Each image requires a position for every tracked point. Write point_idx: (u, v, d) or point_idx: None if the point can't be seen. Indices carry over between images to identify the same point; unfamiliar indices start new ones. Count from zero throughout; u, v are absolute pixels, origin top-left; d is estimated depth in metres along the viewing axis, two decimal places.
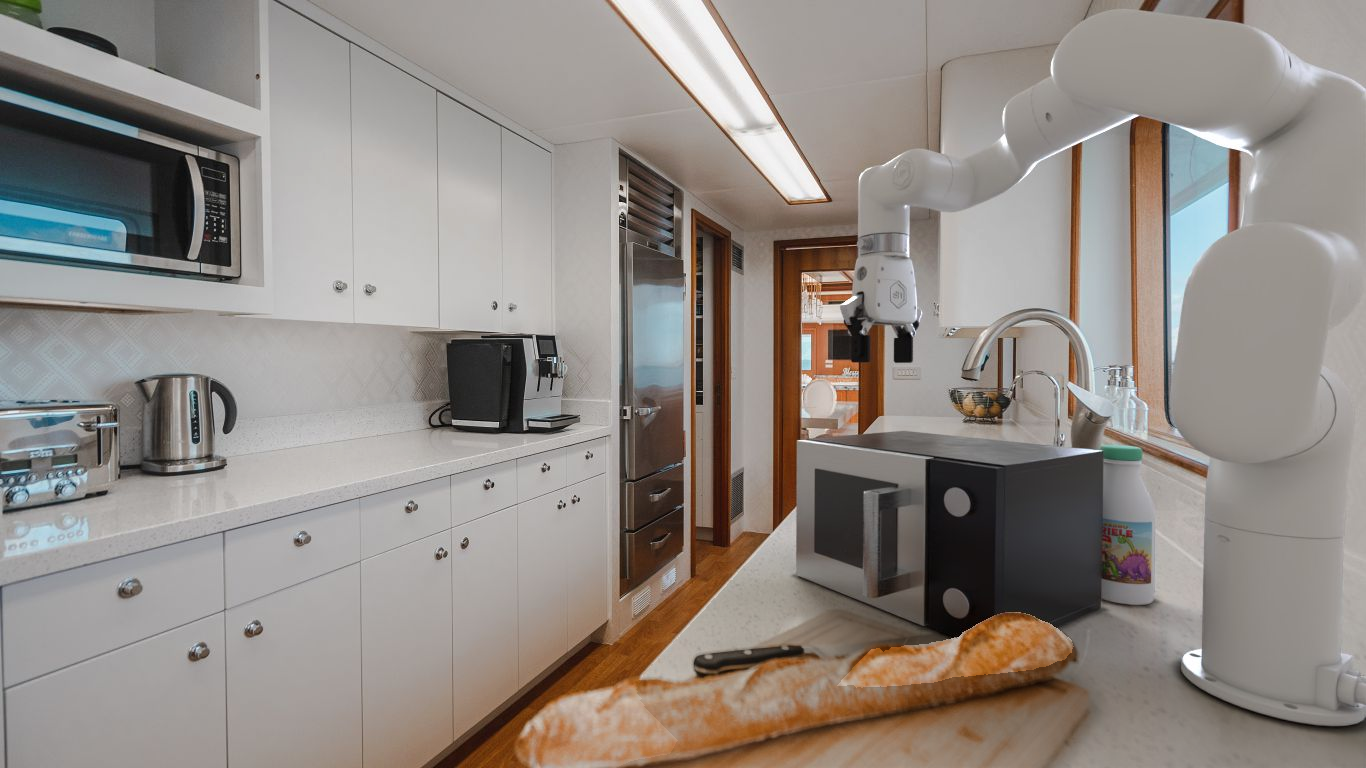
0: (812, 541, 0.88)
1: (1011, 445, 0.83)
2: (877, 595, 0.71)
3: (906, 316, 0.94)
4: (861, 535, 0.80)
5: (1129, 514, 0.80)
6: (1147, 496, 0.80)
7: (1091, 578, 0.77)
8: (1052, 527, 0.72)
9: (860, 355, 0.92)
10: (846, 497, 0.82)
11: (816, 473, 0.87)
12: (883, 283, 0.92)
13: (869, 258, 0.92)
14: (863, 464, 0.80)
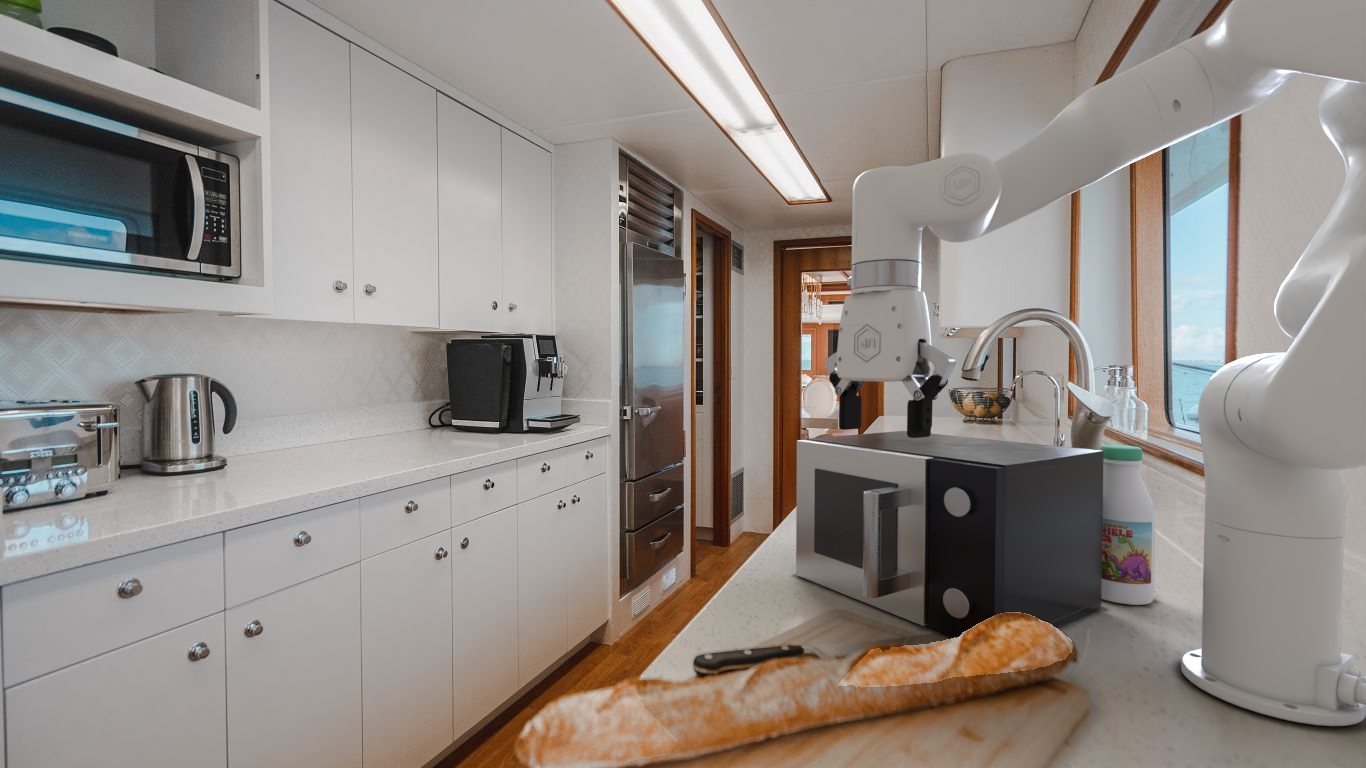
0: (812, 541, 0.88)
1: (1011, 445, 0.83)
2: (877, 595, 0.71)
3: (880, 371, 0.68)
4: (861, 535, 0.80)
5: (1129, 514, 0.80)
6: (1147, 496, 0.80)
7: (1091, 578, 0.77)
8: (1052, 527, 0.72)
9: None
10: (846, 497, 0.82)
11: (816, 473, 0.87)
12: (846, 331, 0.72)
13: None
14: (863, 464, 0.80)
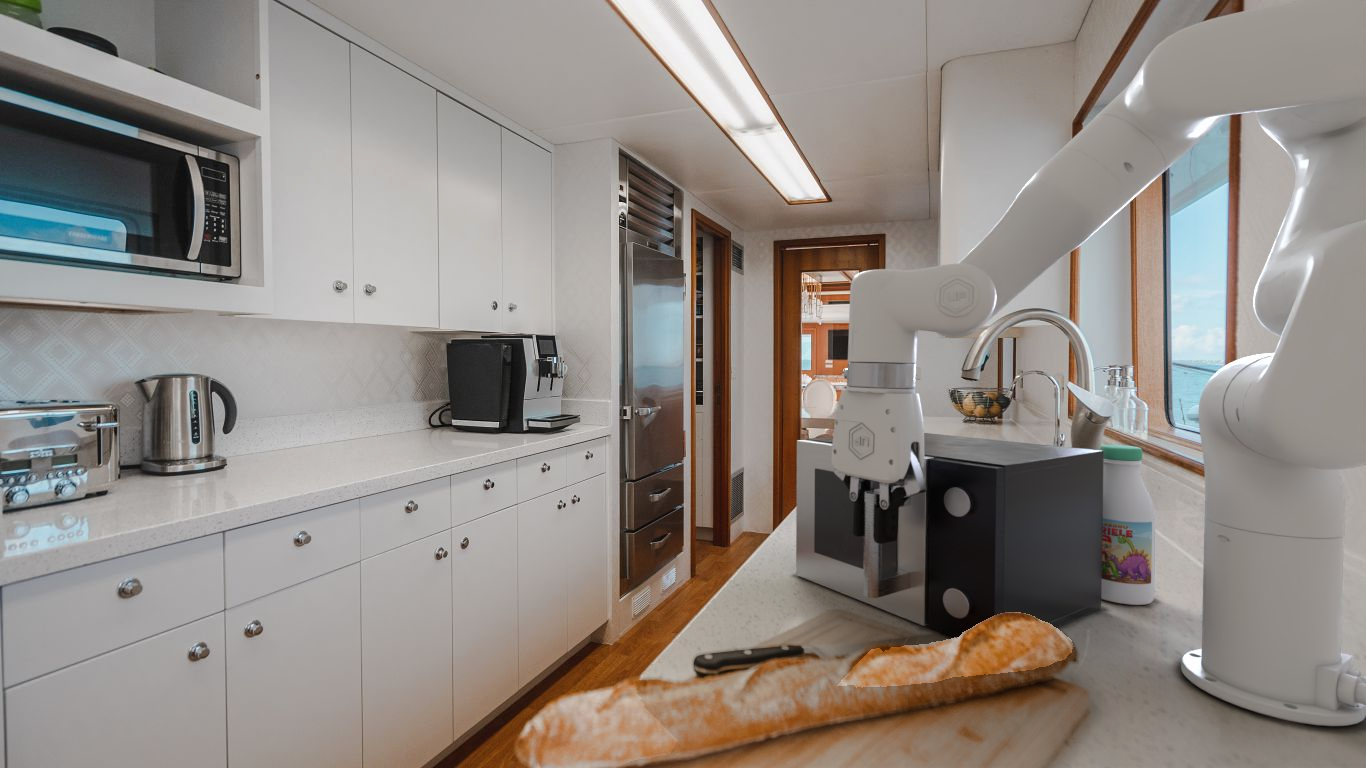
0: (812, 541, 0.88)
1: (1011, 445, 0.83)
2: (878, 595, 0.71)
3: (874, 471, 0.69)
4: None
5: (1129, 514, 0.80)
6: (1147, 496, 0.80)
7: (1091, 578, 0.77)
8: (1052, 527, 0.72)
9: None
10: (846, 497, 0.82)
11: (816, 473, 0.87)
12: (842, 425, 0.73)
13: None
14: None
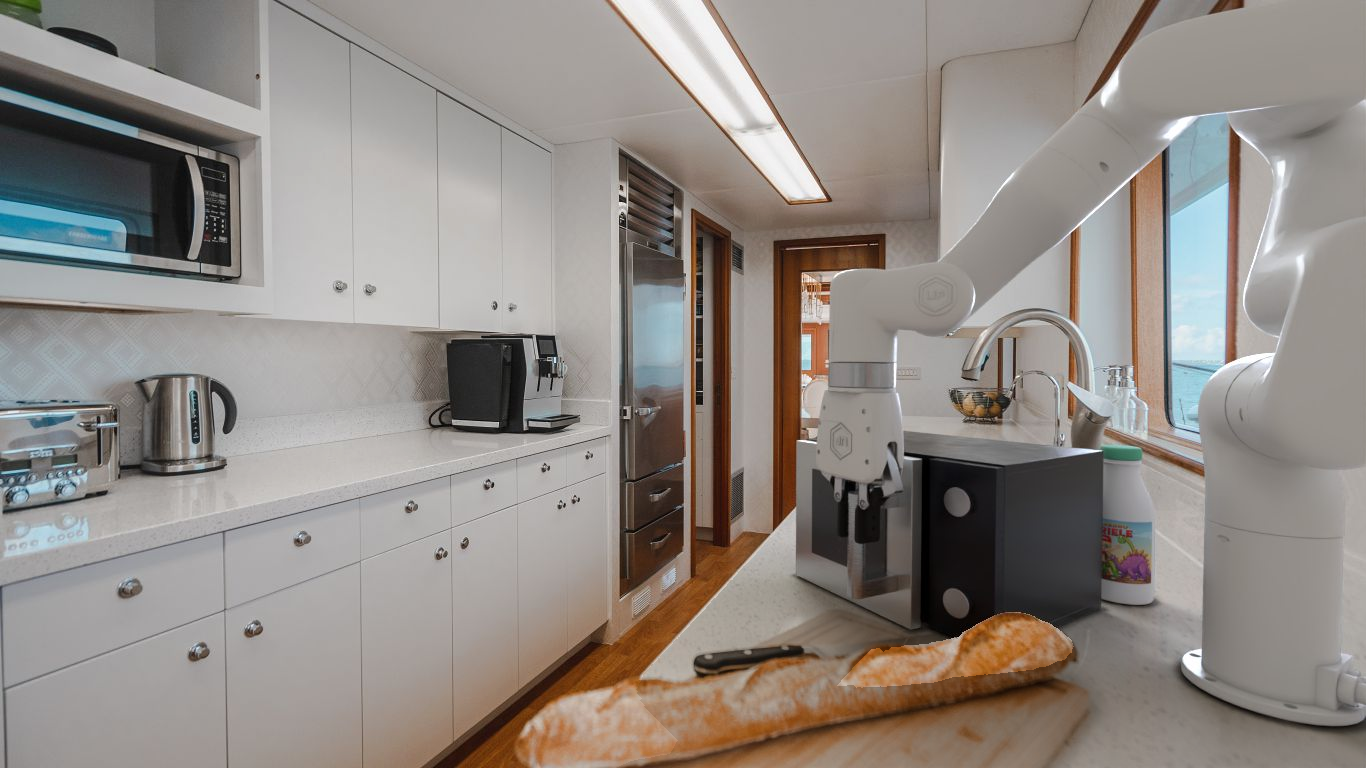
0: (810, 541, 0.88)
1: (1011, 445, 0.83)
2: (861, 596, 0.71)
3: (852, 471, 0.69)
4: None
5: (1129, 514, 0.80)
6: (1147, 496, 0.80)
7: (1091, 578, 0.77)
8: (1052, 527, 0.72)
9: None
10: None
11: (813, 473, 0.87)
12: (824, 425, 0.73)
13: None
14: None
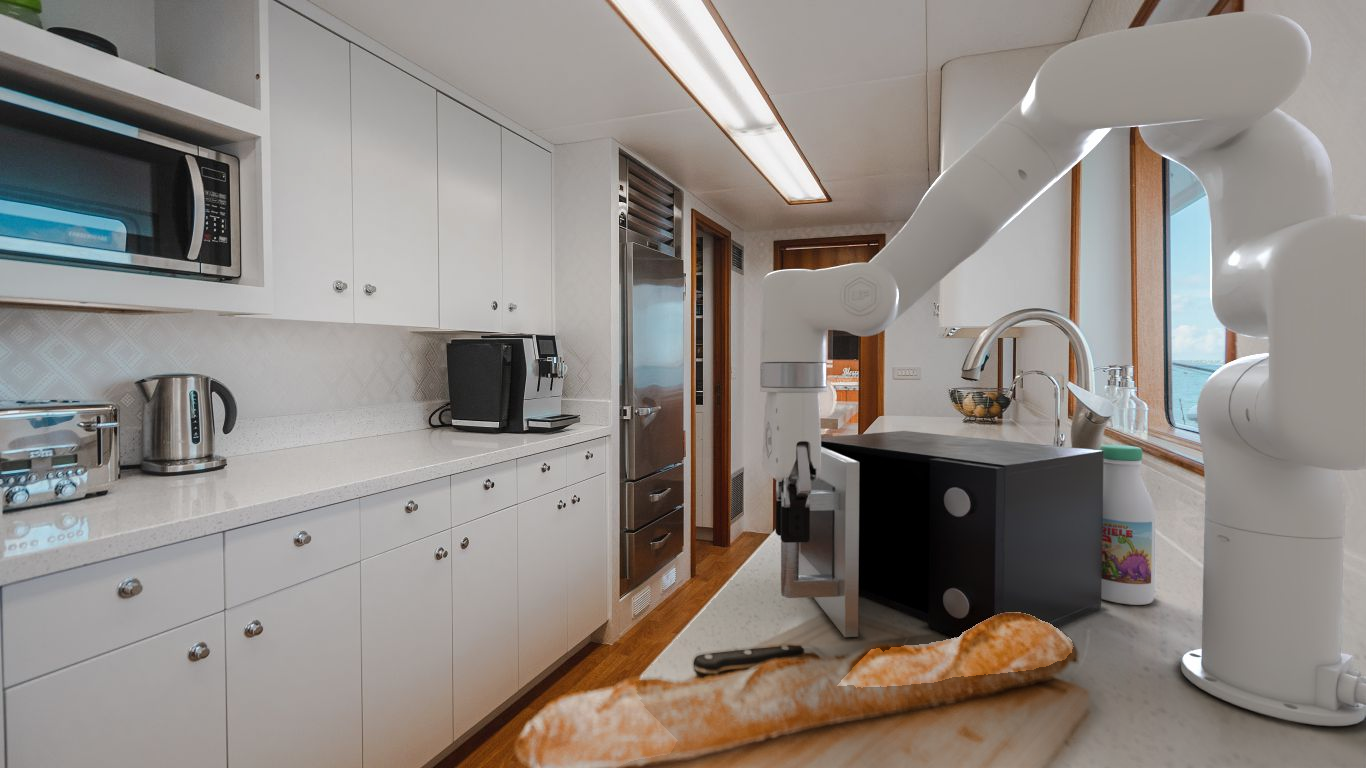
0: None
1: (1011, 445, 0.83)
2: (790, 595, 0.71)
3: (771, 470, 0.70)
4: (818, 538, 0.79)
5: (1129, 514, 0.80)
6: (1147, 496, 0.80)
7: (1091, 578, 0.77)
8: (1052, 527, 0.72)
9: None
10: None
11: None
12: (764, 425, 0.75)
13: None
14: (821, 466, 0.79)
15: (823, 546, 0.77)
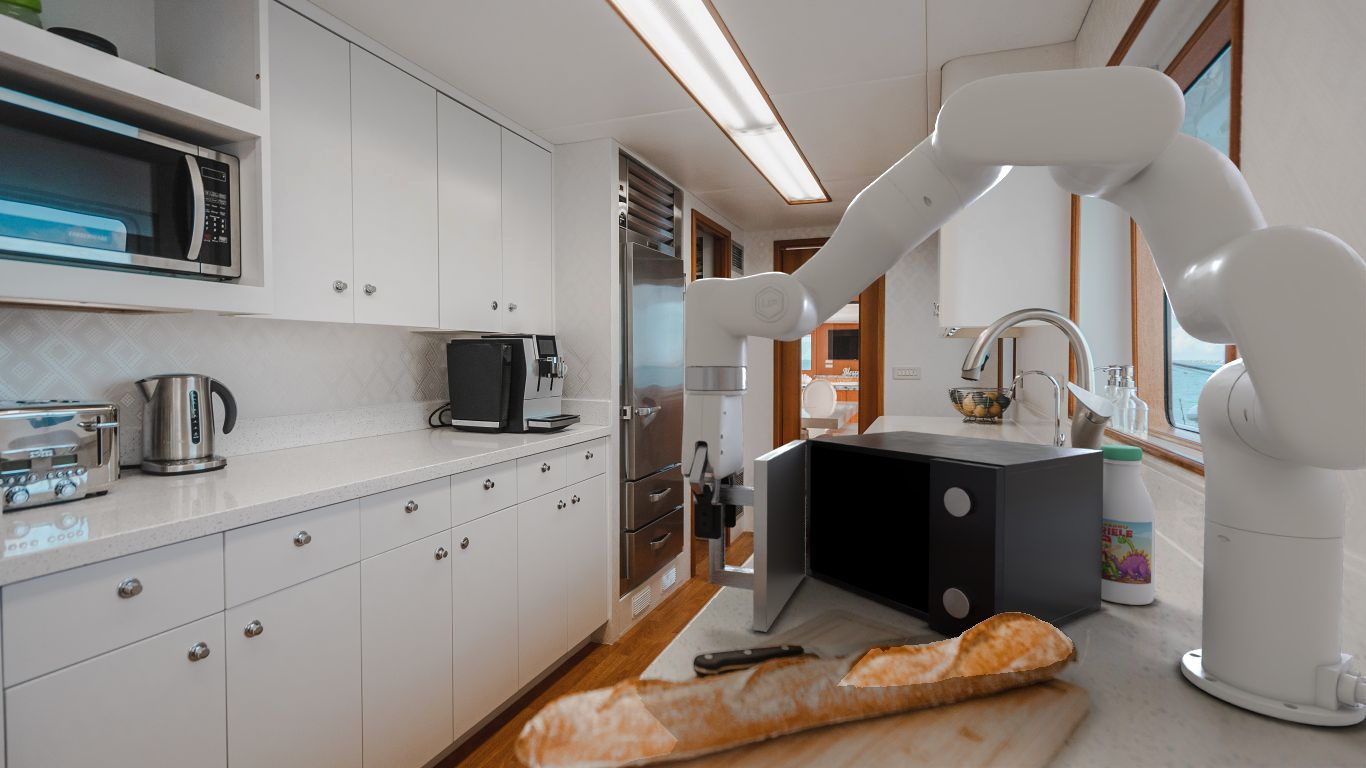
0: None
1: (1011, 445, 0.83)
2: (712, 582, 0.76)
3: None
4: None
5: (1129, 514, 0.80)
6: (1147, 496, 0.80)
7: (1091, 578, 0.77)
8: (1052, 527, 0.72)
9: None
10: None
11: None
12: None
13: None
14: None
15: None
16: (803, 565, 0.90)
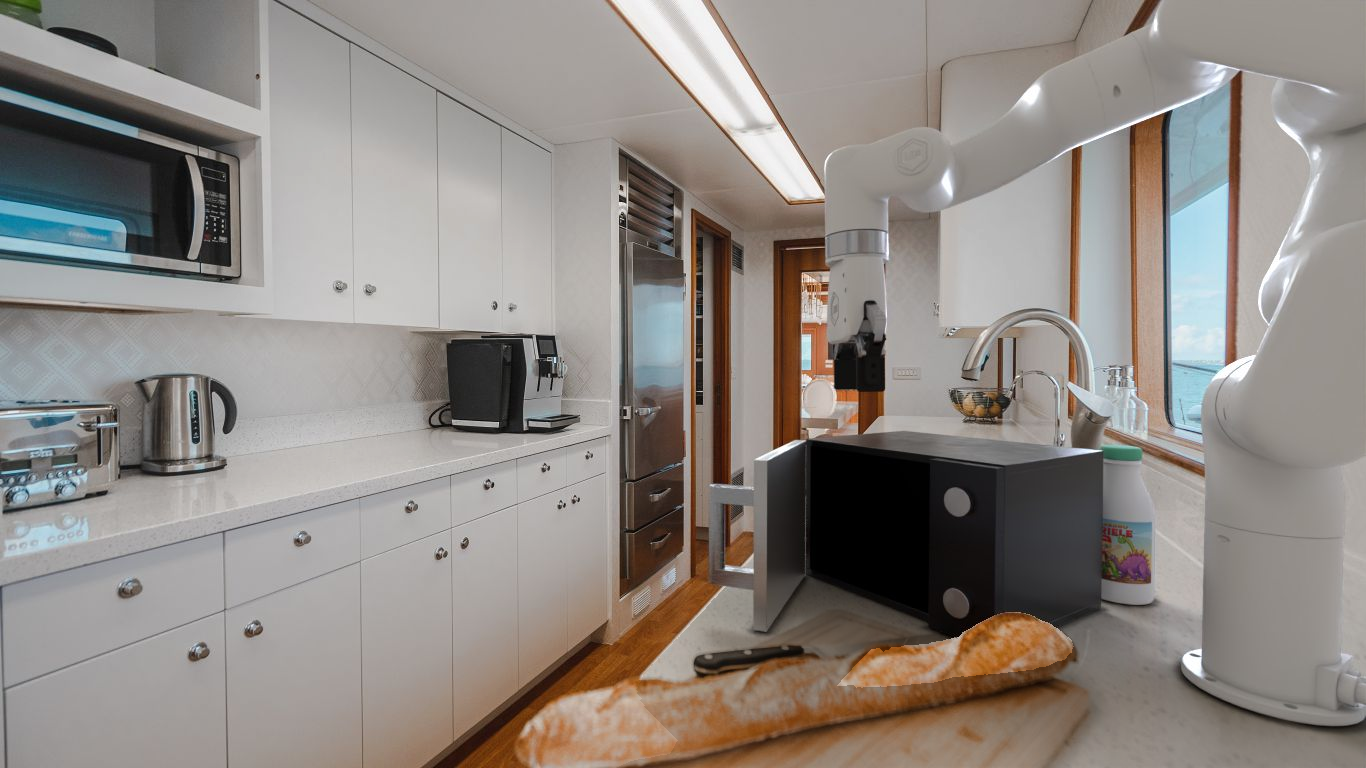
0: None
1: (1011, 445, 0.83)
2: (712, 582, 0.76)
3: (839, 333, 0.75)
4: None
5: (1129, 514, 0.80)
6: (1147, 496, 0.80)
7: (1091, 578, 0.77)
8: (1052, 527, 0.72)
9: None
10: None
11: None
12: (828, 300, 0.80)
13: None
14: None
15: None
16: (803, 565, 0.90)
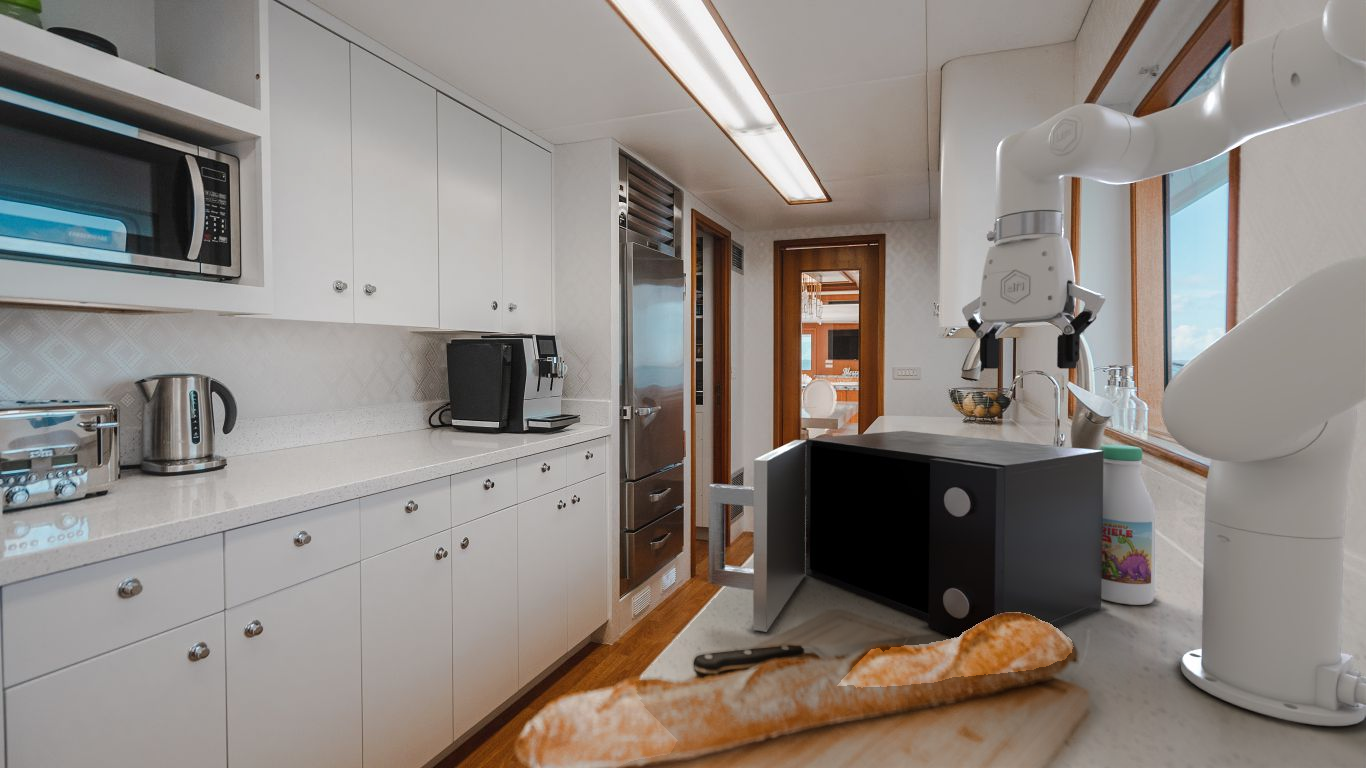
0: None
1: (1011, 445, 0.83)
2: (712, 582, 0.76)
3: (1031, 311, 0.76)
4: None
5: (1129, 514, 0.80)
6: (1147, 496, 0.80)
7: (1091, 578, 0.77)
8: (1052, 527, 0.72)
9: None
10: None
11: None
12: (991, 278, 0.80)
13: None
14: None
15: None
16: (803, 565, 0.90)
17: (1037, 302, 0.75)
